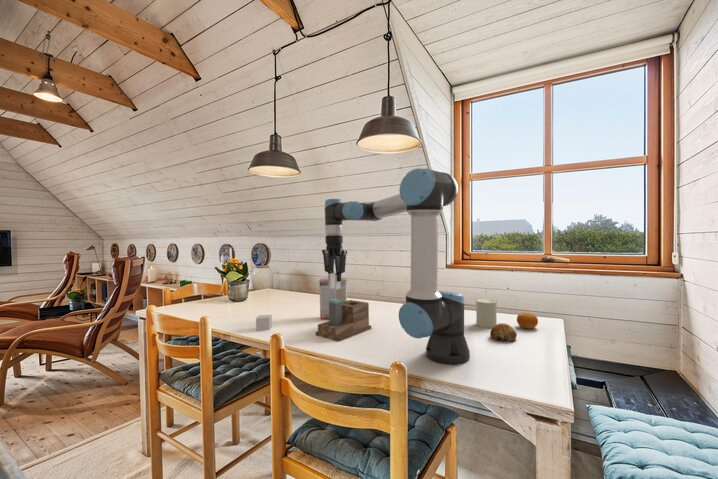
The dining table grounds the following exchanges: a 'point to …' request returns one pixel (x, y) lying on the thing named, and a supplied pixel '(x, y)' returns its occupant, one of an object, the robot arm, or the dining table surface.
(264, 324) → the gray cube
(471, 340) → the dining table surface
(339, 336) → the wooden desk organizer
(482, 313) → the can
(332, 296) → the cracker box
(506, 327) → the bread roll
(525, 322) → the fruit
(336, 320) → the plug
